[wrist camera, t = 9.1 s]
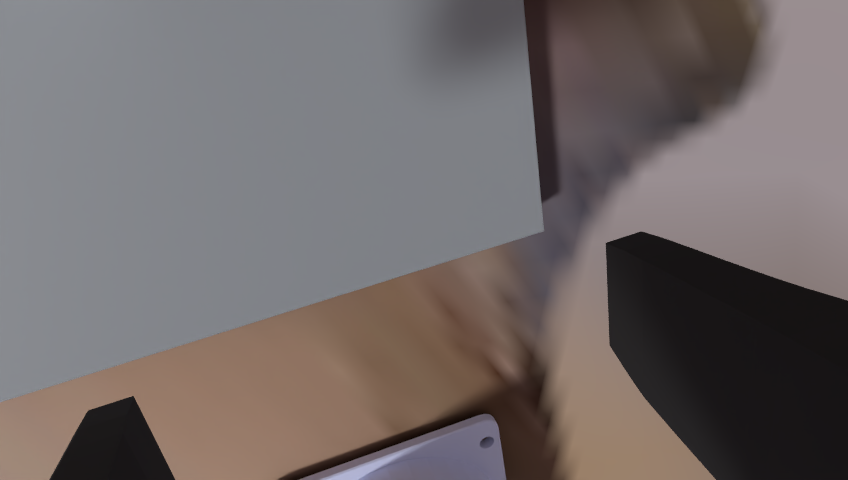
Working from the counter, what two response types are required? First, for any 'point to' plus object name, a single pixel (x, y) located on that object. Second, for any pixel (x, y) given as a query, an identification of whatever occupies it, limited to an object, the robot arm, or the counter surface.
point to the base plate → (243, 163)
